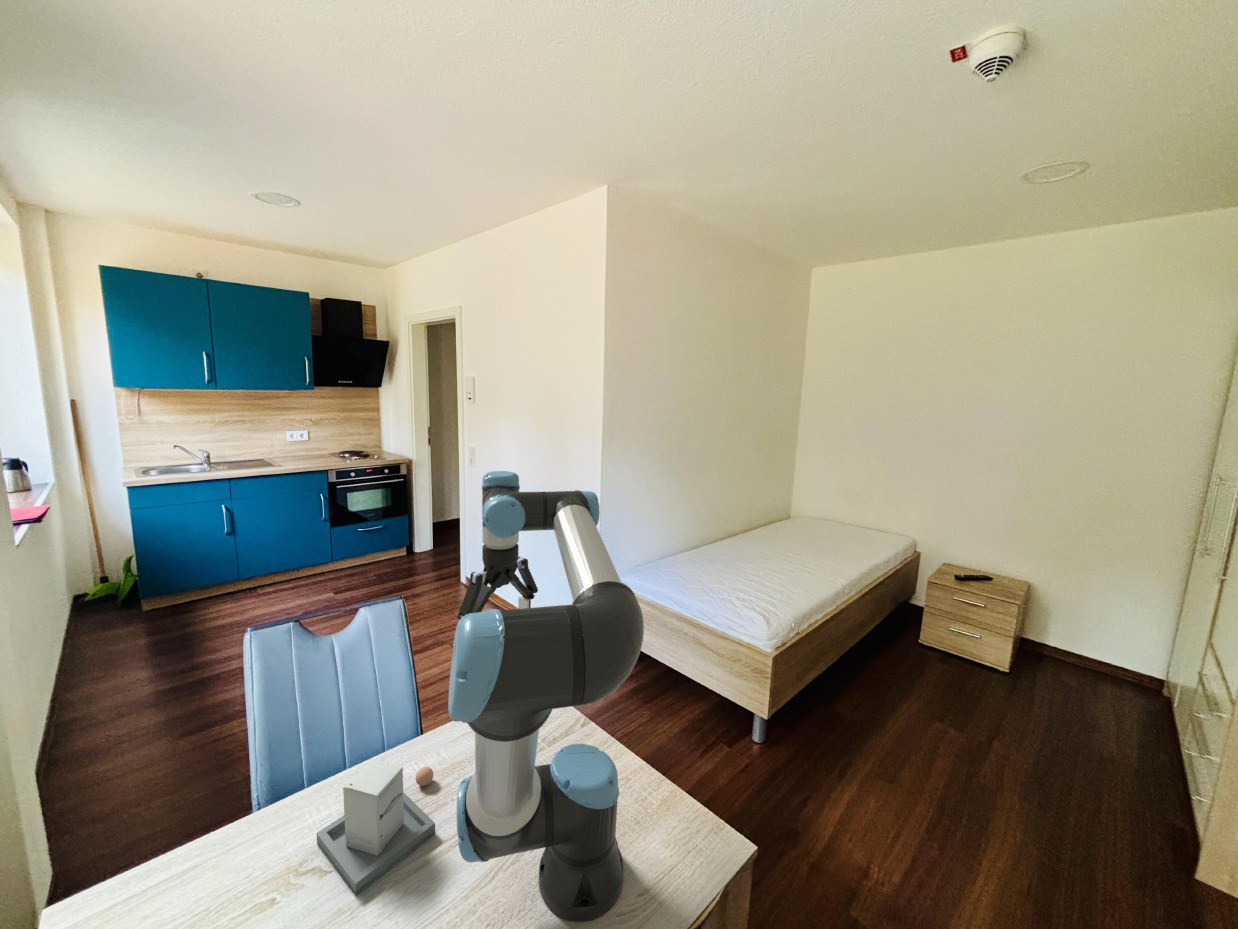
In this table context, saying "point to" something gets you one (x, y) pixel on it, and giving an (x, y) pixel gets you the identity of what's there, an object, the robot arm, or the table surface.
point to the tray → (367, 867)
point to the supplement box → (373, 806)
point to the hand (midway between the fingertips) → (500, 636)
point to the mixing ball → (424, 776)
